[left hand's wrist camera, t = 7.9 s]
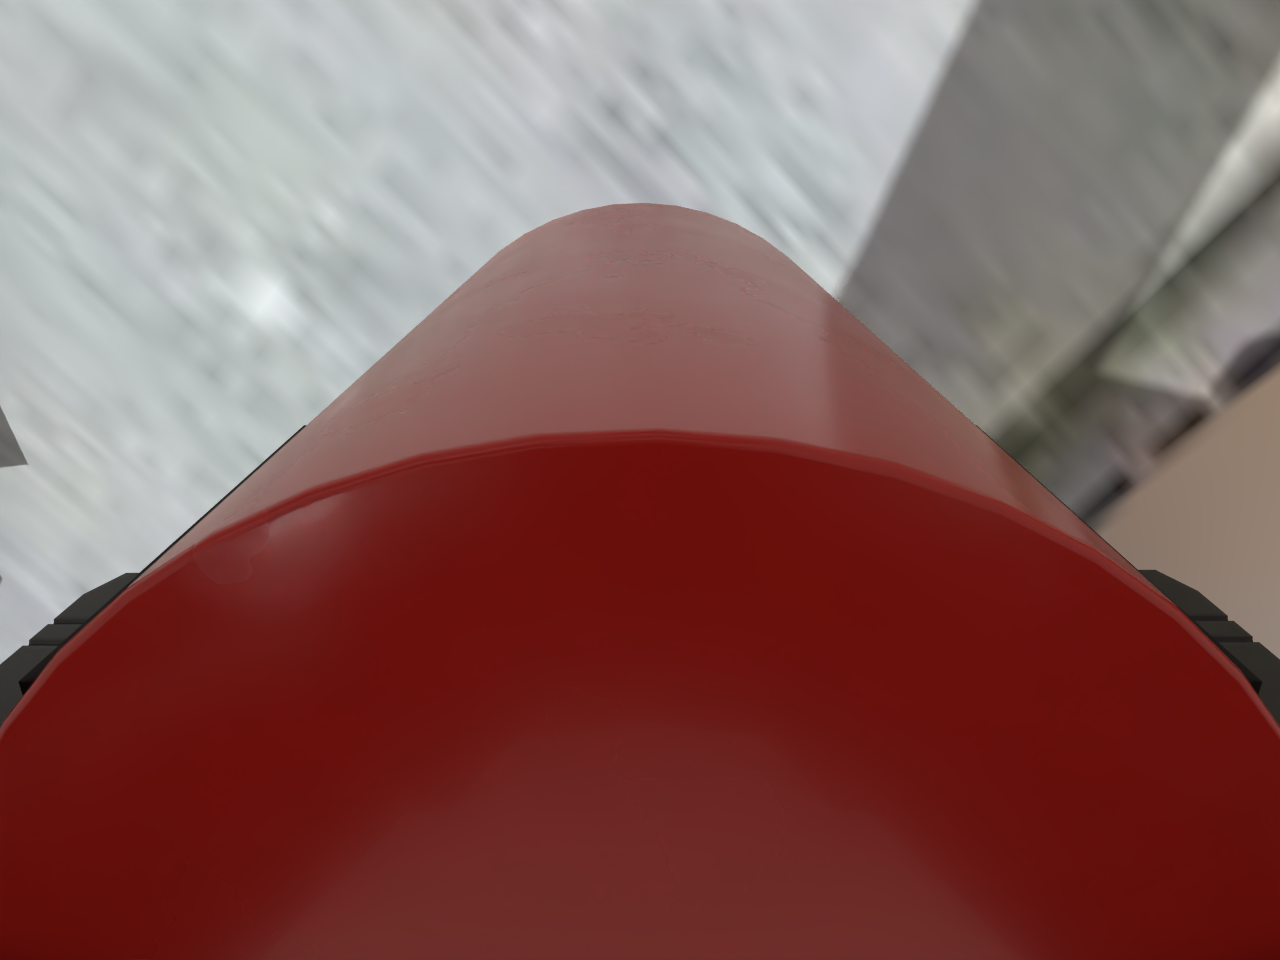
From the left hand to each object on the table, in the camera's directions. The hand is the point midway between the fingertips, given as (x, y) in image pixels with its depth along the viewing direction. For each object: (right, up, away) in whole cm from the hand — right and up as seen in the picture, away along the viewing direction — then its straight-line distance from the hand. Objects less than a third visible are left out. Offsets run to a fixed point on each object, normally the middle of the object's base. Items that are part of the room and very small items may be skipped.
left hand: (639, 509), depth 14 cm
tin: (0, +1, +3) cm, 4 cm away
